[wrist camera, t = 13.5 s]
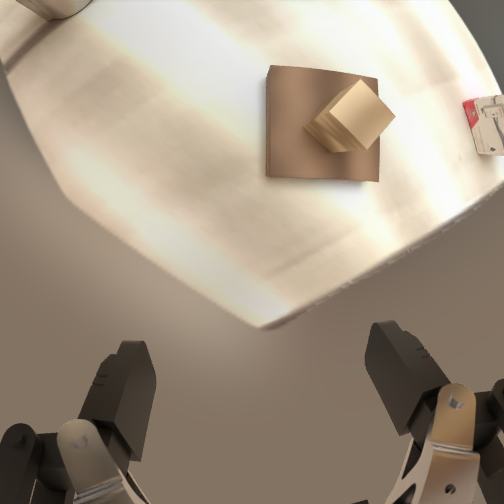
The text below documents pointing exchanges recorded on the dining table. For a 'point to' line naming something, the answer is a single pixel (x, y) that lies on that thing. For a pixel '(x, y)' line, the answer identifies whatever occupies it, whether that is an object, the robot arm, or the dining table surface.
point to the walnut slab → (298, 138)
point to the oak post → (350, 119)
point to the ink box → (487, 123)
